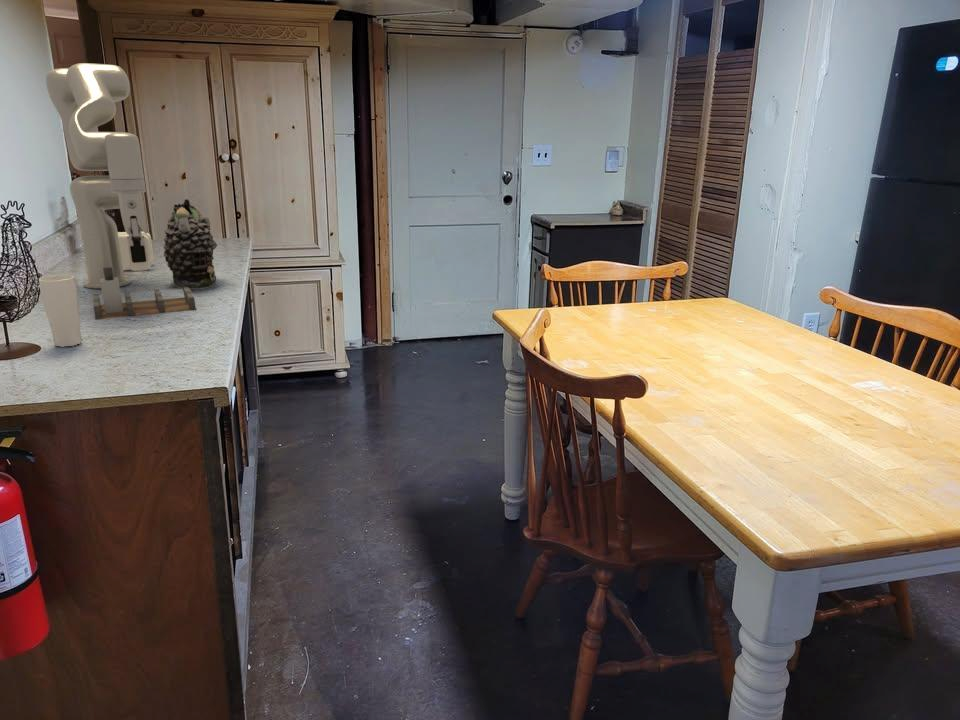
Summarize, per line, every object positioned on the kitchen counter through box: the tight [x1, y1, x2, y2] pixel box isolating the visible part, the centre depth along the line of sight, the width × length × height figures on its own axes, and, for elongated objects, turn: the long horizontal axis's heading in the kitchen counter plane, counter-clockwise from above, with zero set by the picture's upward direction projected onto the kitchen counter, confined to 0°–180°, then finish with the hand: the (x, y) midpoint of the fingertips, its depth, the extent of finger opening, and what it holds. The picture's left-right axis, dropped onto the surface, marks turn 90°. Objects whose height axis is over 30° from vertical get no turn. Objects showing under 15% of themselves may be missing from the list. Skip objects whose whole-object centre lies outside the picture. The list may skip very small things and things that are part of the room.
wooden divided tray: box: [92, 287, 197, 320], centre depth 180 cm, size 15×23×4 cm, turn 118°
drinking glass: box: [38, 274, 83, 348], centre depth 152 cm, size 7×7×15 cm
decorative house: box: [163, 199, 218, 291], centre depth 208 cm, size 21×15×25 cm
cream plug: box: [126, 229, 150, 272], centre depth 175 cm, size 4×4×11 cm
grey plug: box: [100, 267, 123, 313], centre depth 176 cm, size 4×4×11 cm
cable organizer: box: [117, 231, 155, 272], centre depth 231 cm, size 15×11×12 cm
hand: (138, 259), depth 176 cm, fingers closed on cream plug, 4 cm apart
